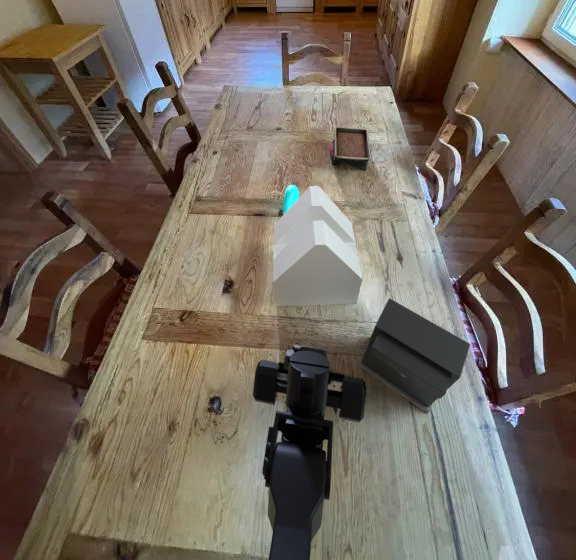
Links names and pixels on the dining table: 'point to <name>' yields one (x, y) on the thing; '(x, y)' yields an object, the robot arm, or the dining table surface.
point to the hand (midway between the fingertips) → (312, 364)
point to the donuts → (290, 197)
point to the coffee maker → (413, 355)
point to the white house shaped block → (315, 254)
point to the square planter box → (350, 147)
